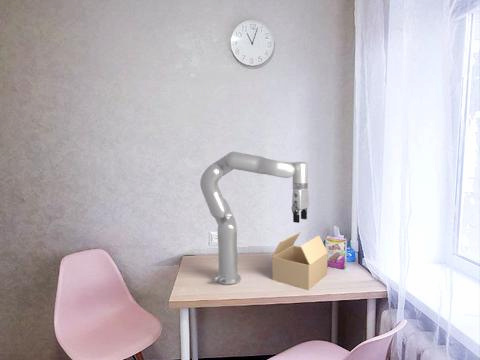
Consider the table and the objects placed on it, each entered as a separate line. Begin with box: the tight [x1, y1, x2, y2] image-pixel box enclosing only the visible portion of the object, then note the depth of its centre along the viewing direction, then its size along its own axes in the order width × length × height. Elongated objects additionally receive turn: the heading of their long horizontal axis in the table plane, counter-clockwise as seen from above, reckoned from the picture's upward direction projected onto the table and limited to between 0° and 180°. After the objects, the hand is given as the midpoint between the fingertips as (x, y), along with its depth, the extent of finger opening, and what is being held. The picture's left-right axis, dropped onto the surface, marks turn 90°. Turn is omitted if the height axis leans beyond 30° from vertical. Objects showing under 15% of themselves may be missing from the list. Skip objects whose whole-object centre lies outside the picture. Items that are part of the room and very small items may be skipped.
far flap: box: [272, 231, 301, 257], centre depth 164 cm, size 21×10×1 cm
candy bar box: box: [324, 235, 348, 270], centre depth 173 cm, size 11×5×16 cm, turn 59°
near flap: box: [299, 235, 328, 265], centre depth 155 cm, size 21×10×1 cm
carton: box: [271, 245, 328, 291], centre depth 160 cm, size 22×20×12 cm
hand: (300, 220), depth 158 cm, fingers open, 7 cm apart
